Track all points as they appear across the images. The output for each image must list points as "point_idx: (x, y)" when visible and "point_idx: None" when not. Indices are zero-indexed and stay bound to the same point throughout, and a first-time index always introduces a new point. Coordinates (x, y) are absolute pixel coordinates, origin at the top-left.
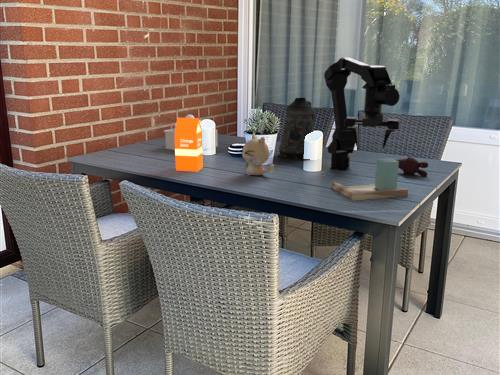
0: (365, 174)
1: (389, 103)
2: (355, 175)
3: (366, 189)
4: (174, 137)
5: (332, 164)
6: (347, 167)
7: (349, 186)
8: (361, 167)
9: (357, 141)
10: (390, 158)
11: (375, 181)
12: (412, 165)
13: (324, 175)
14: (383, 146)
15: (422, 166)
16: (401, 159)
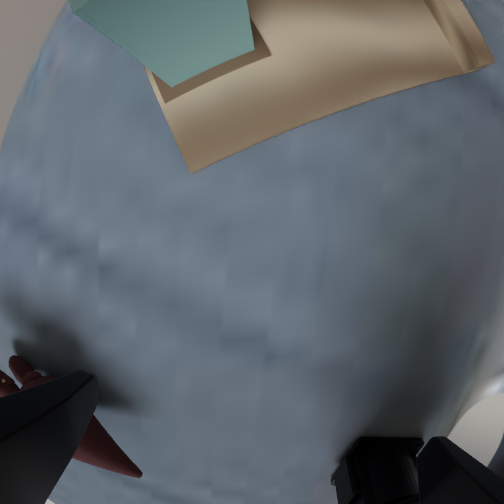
0: (272, 393)
1: None
2: (332, 369)
3: (307, 29)
4: None
5: (414, 461)
6: (350, 457)
7: (402, 85)
8: (273, 484)
9: (465, 474)
10: (74, 5)
11: (251, 31)
12: None
13: (479, 336)
14: (76, 380)
15: (3, 374)
16: (80, 456)
